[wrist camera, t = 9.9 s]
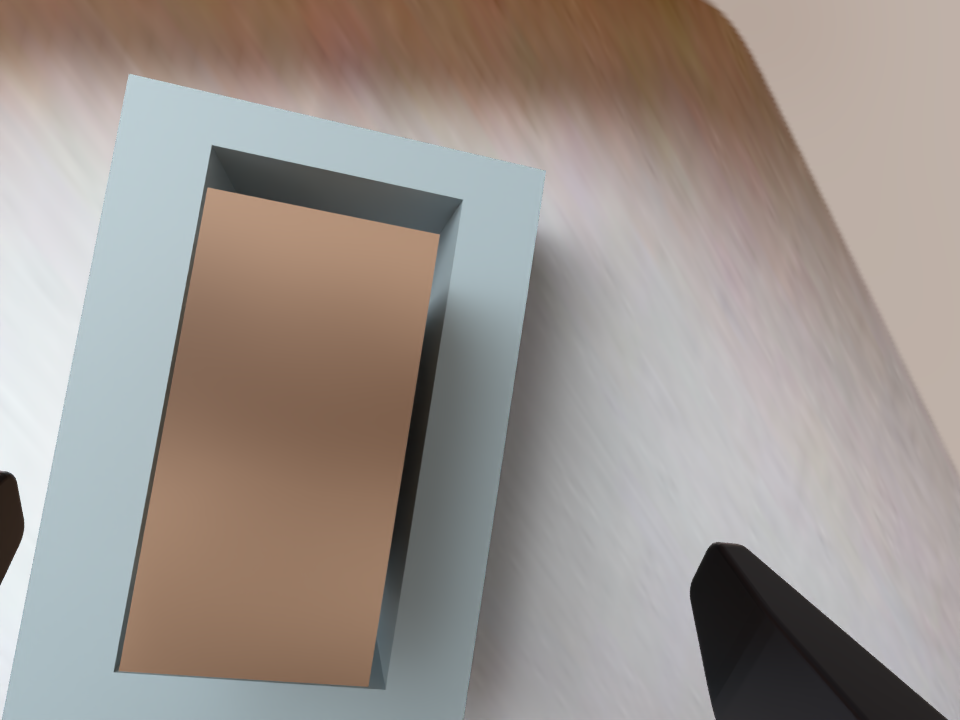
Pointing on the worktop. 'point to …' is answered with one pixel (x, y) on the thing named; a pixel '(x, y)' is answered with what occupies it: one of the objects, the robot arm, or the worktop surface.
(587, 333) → the worktop surface
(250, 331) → the brown rectangular block
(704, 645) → the robot arm
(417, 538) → the light blue tray
